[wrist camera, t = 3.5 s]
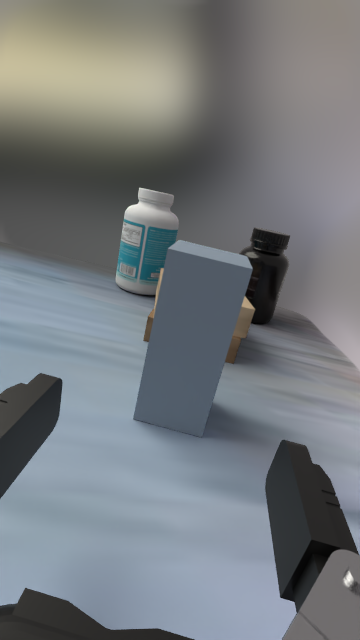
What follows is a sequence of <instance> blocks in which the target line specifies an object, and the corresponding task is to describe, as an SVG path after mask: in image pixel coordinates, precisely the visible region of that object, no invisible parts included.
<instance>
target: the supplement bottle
mask: <svg viewBox="0 0 360 640" xmlns="http://www.w3.org/2000/svg"><path fill="white" fill-rule="evenodd" d="M289 238H290V235H287V234H284V233H280V232H276V231H271V230H267V229H262V228H254V230H253V233H252V237H251V239H250V241H251V245H250V246H248V247H246V248H244V249H242V250H241V252H240V253H239V254H240V255H244V256H247V257H248V259H249V262H250V264H251V266H252V268H253V270H252V274H251V277H250V280H249V283H248V287H247V290H246V293H245V297H246V298H247V299H248V301H249V302H250V303H251V305H252V306H253V307H254V309H255V311H254V314H253V318H252V321H251V323H258V324H263V323H267V322H269V321H270V320H271V319H272V316H273V313H274V310H275V307H276V304H277V301H278V298H279V295H280V292H281V289H282V286H283V283H284V280H285V277H286V273H287V270H288V267H289V261H288V259H287V257H286V256H285V255H284V254H283V252H284V249H285V250H286V249H287V247H288V246H287V245H288V242H289Z"/></svg>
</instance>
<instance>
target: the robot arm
mask: <svg viewBox="0 0 360 640" xmlns="http://www.w3.org/2000/svg"><path fill="white" fill-rule="evenodd" d="M61 392H62V379H60V378H57V377H53V376H49V375H46V374H42V373H40V374H38V375H37V376H36V377H35V378H34V379H33V380H31V381H30V382H29V383H28V384H23V383H20V384H17V385H15V386H13V387H10V388H8V389H6V390H5V391H3V392H2V393H1V394H0V498H1V497H2V496H3V495H4V493H5V492H6V491H7V489H8V488H9V487H10V485H11V484H12V483H13V482H14V480H15V479H16V478H17V476H18V475H19V474H20V472H21V471H22V470H23V469H24V467H25V466H26V465H27V463H28V462H29V461H30V459H31V458H32V457H33V456H34V454H35V453H36V452H37V450H38V449H39V448H40V446H41V445H42V444H43V443H44V441H45V440H46V439H47V437H48V436H49V435H50V433H51V432H52V431H53V429H54V427H55V425H56V423H57V420H58V417H59V412H60V402H61ZM265 489H266V498H267V505H268V513H269V520H270V527H271V534H272V541H273V548H274V555H275V563H276V570H277V577H278V584H279V591H280V598H283V599H287V600H290V601H294V602H295V606H296V612H297V614H296V616H295V617H294V619H293V621H292V623H291V624H290V626H289V628H288V630H287V631H286V633H285V635H284V637H283V638H282V640H360V556H359V553H358V551H357V548H356V545H355V543H354V540H353V538H352V535H351V532H350V530H349V527H348V525H347V522H346V519H345V517H344V514H343V511H342V509H340V504H339V501H338V498H337V496H335V494H336V493H335V491H334V488H333V485H332V483H331V480H330V478H329V477H328V476H327V474H326V473H325V472H324V471H323V469H322V468H321V467H320V465H317V464H313V463H312V461H311V458H310V455H309V452H308V449H307V447H306V446H305V445H301V444H298V443H294V442H290V441H287V440H282V441H281V443H280V445H279V447H278V450H277V452H276V454H275V457H274V459H273V462H272V464H271V466H270V469H269V471H268V474H267V478H266V487H265ZM0 640H194V639H191V638H187V637H184V636H181V635H177V634H174V633H171V632H168V631H164V630H161V629H126V630H110V629H107V628H105V627H103V626H102V625H101V624H99V623H98V622H96V621H95V620H94V619H92V618H91V617H89V616H88V615H87V614H85V613H84V612H83V611H81V610H80V609H78V608H77V607H76V606H74V605H73V604H71V603H70V602H69V601H66V600H63V599H60V598H57V597H53V596H50V595H47V594H44V593H40V592H37V591H34V590H30V589H27V588H25V590H24V592H23V593H22V595H21V597H20V599H19V601H18V603H17V604H8V605H2V606H0Z"/></svg>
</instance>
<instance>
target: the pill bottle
mask: <svg viewBox="0 0 360 640" xmlns="http://www.w3.org/2000/svg"><path fill="white" fill-rule="evenodd" d="M138 199H139V203H138V204H136V205H132V206H130V207H128V208H127V210H126V211H125V217H124V222H123V230H122V238H121V244H120V252H119V259H118V265H117V273H116V283H117V285H118V286H119V287H121V288H122V289H124V290H126V291H129V292H132V293H136V294H142V295H156V290H157V285H158V280H159V275H160V271H161V268H164V265H165V260H166V255H167V250H168V248H169V247H170V246H172V245H173V244H174V243H175V241H176V236H177V231H178V225H179V221H178V218H177V216H176V215H175V214H173V213H172V212H171V211H170V206H172V204H173V199H174V195H171V194H166V193H162V192H157V191H152V190H148V189H143V188H139V193H138Z"/></svg>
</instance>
